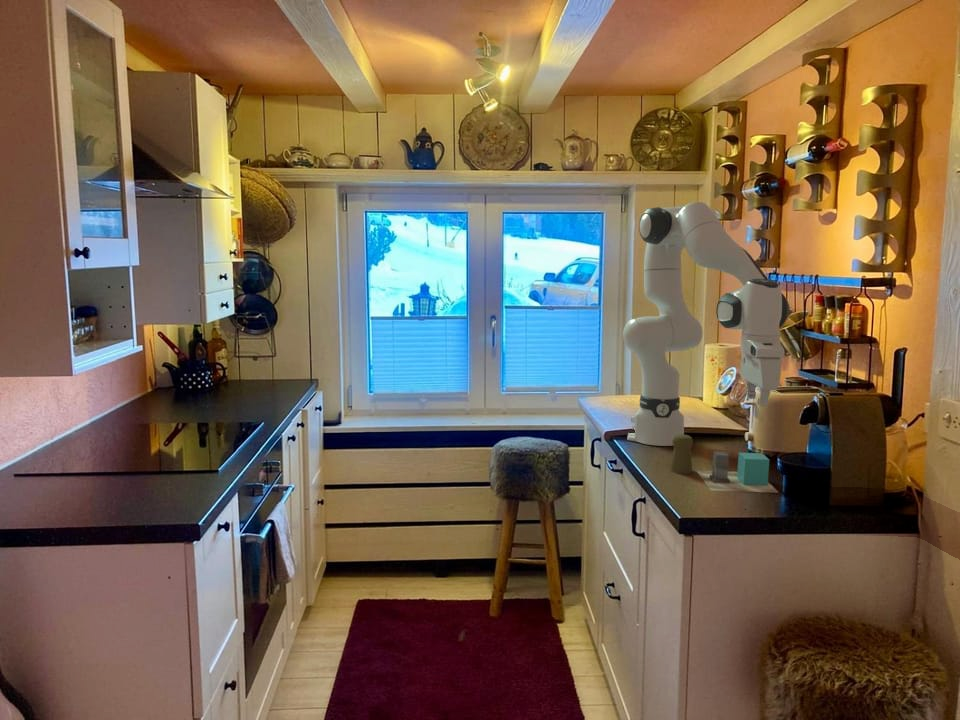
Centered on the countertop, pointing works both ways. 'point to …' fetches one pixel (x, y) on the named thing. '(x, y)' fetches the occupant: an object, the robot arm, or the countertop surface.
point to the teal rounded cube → (753, 469)
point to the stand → (728, 477)
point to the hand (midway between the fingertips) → (756, 401)
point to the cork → (681, 454)
